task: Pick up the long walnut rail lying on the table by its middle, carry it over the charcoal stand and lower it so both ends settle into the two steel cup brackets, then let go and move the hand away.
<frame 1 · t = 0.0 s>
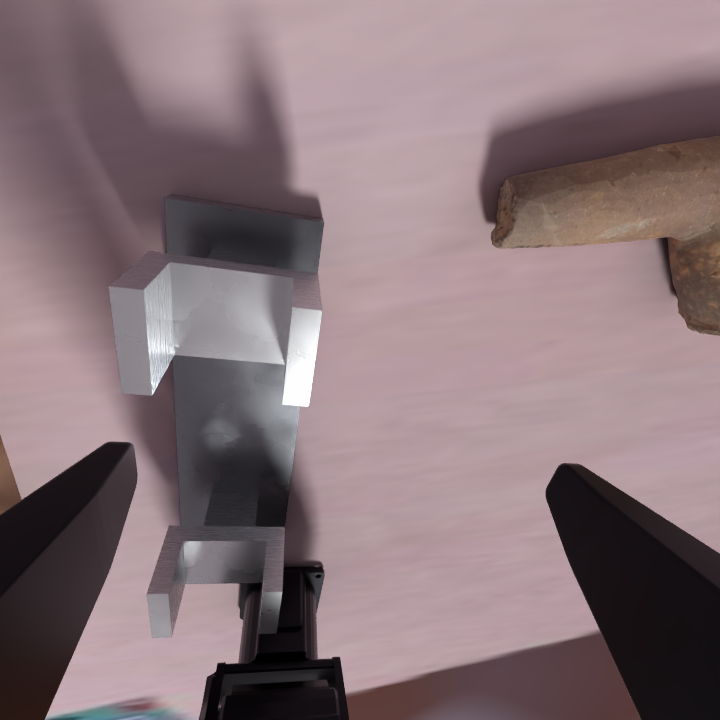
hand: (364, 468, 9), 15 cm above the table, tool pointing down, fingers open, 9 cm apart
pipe: (618, 235, 23), on the table
bracket stand: (240, 404, 25), on the table
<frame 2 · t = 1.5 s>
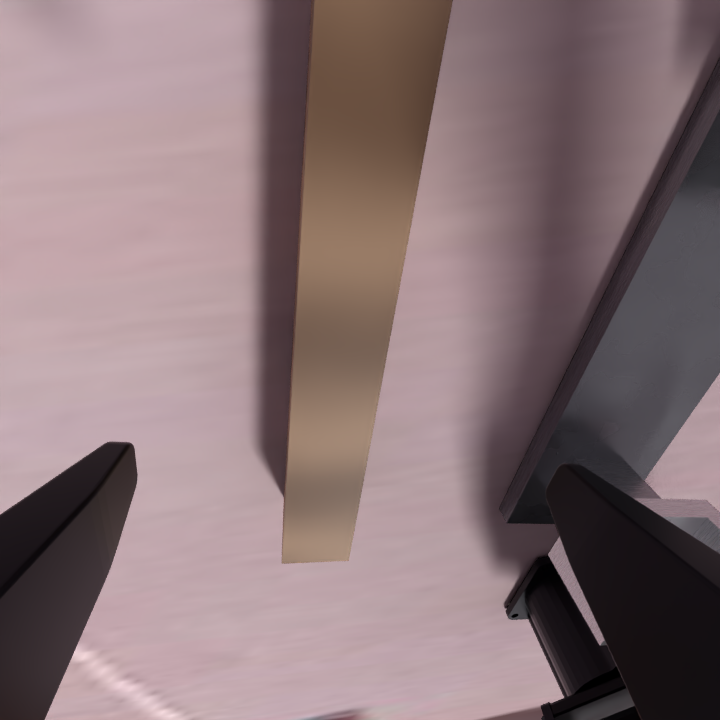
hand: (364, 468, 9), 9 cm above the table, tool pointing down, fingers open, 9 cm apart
bracket stand: (650, 340, 19), on the table
rail: (332, 299, 16), on the table
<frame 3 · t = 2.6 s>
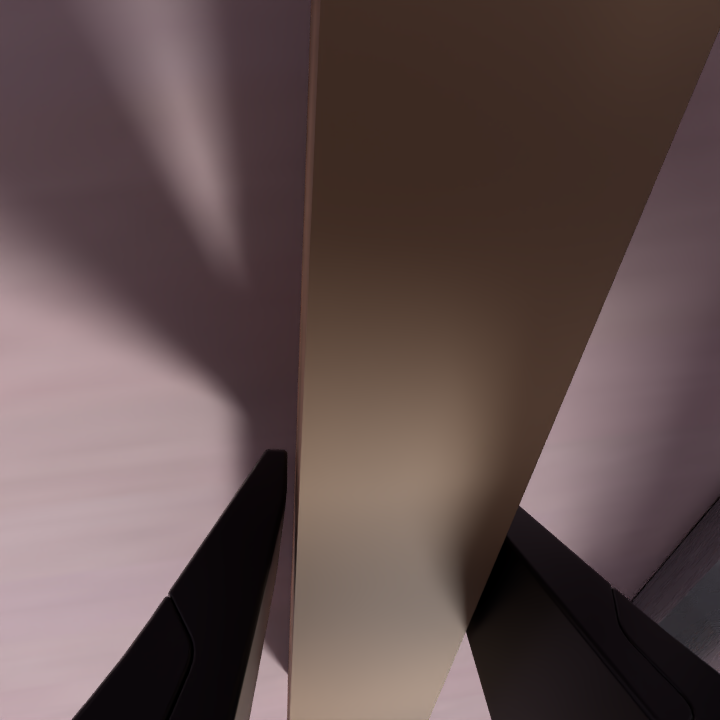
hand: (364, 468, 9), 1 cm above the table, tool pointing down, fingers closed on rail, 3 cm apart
rail: (360, 427, 10), on the table, touching gripper
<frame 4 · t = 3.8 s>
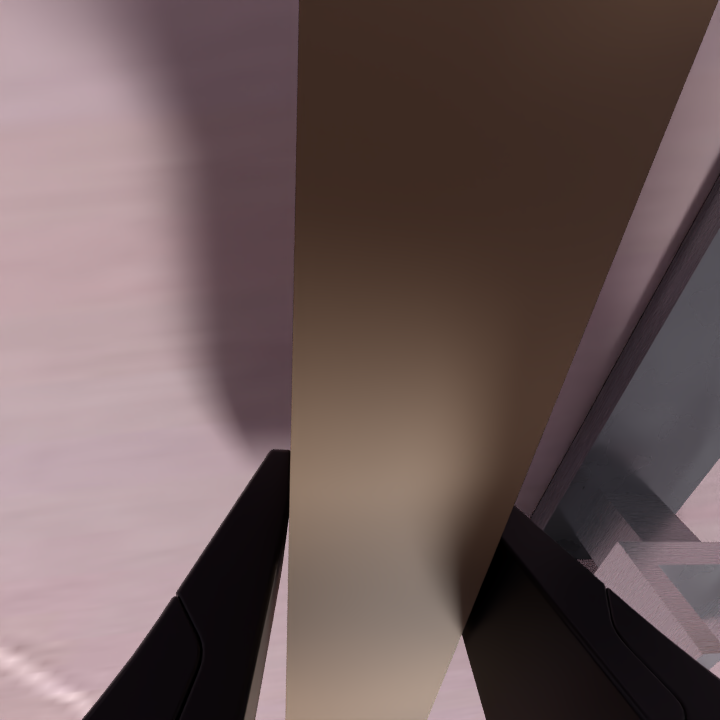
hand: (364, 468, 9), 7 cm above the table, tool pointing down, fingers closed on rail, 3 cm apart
bracket stand: (688, 367, 17), on the table
rail: (356, 428, 10), point 6 cm above the table, touching gripper
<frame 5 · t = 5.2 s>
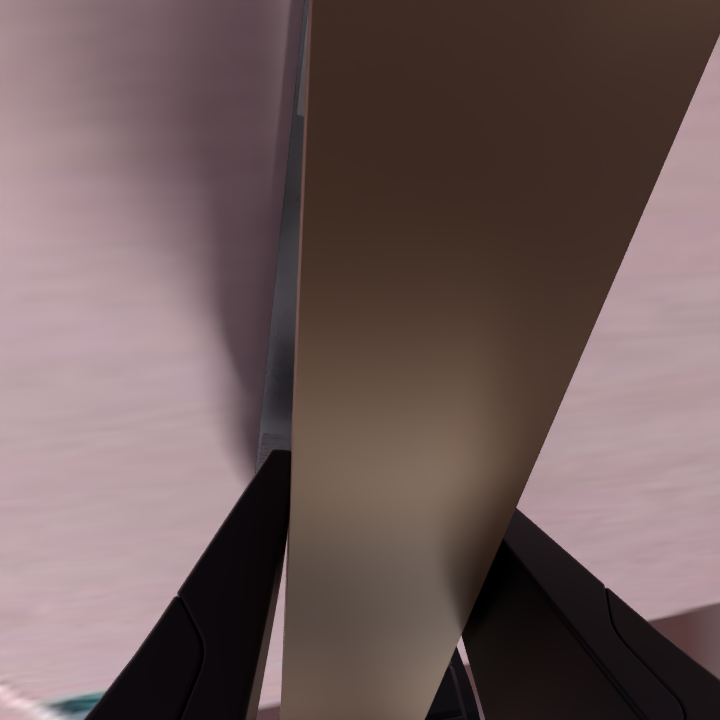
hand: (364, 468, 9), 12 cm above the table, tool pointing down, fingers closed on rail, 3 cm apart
bracket stand: (353, 280, 19), on the table
rail: (356, 428, 10), point 11 cm above the table, touching gripper
when the fingers open (7 cm above the table, at t = 6.7 s): rail stays where it is, resting on bracket stand.
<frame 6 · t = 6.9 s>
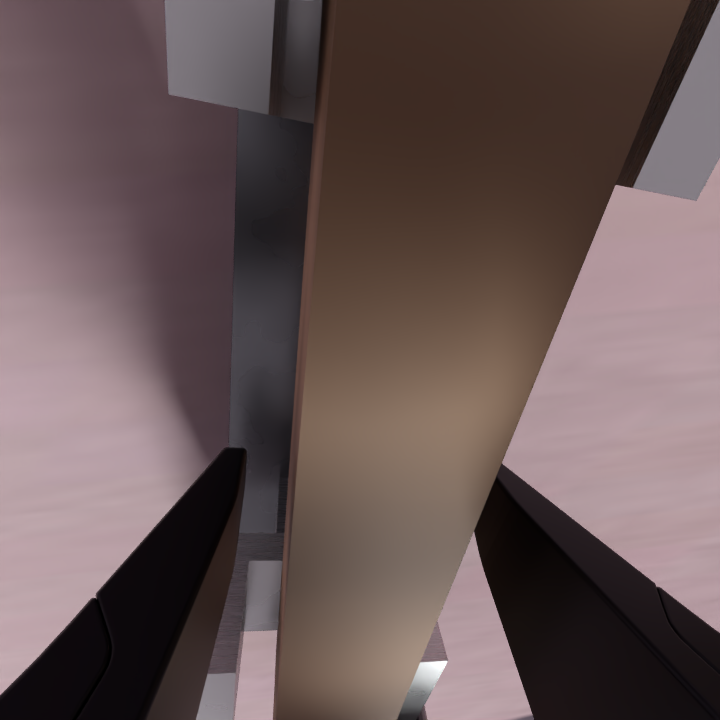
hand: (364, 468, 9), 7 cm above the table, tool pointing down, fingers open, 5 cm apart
bracket stand: (338, 324, 15), on the table
rail: (353, 411, 10), point 5 cm above the table, touching bracket stand
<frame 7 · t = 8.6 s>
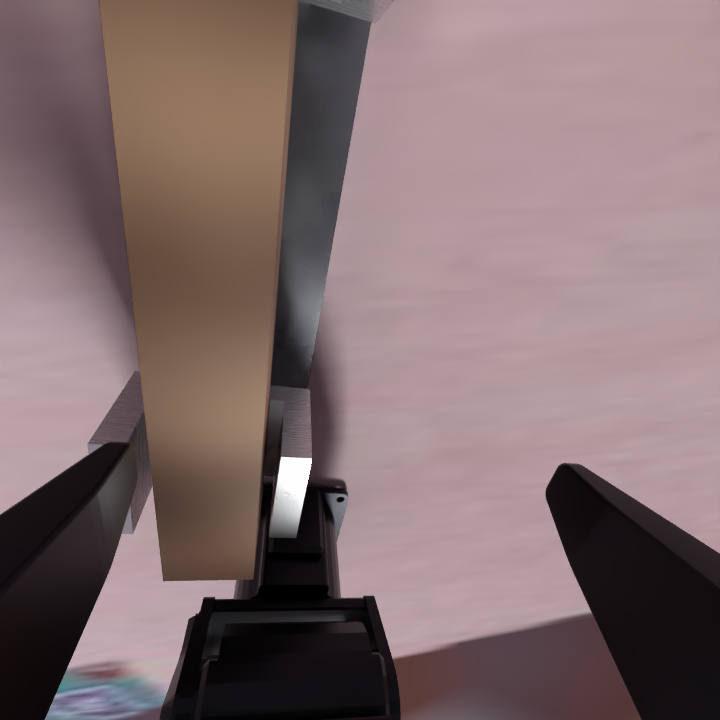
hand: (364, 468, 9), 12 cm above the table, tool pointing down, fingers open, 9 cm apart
bracket stand: (248, 203, 17), on the table
rail: (230, 235, 12), point 5 cm above the table, touching bracket stand
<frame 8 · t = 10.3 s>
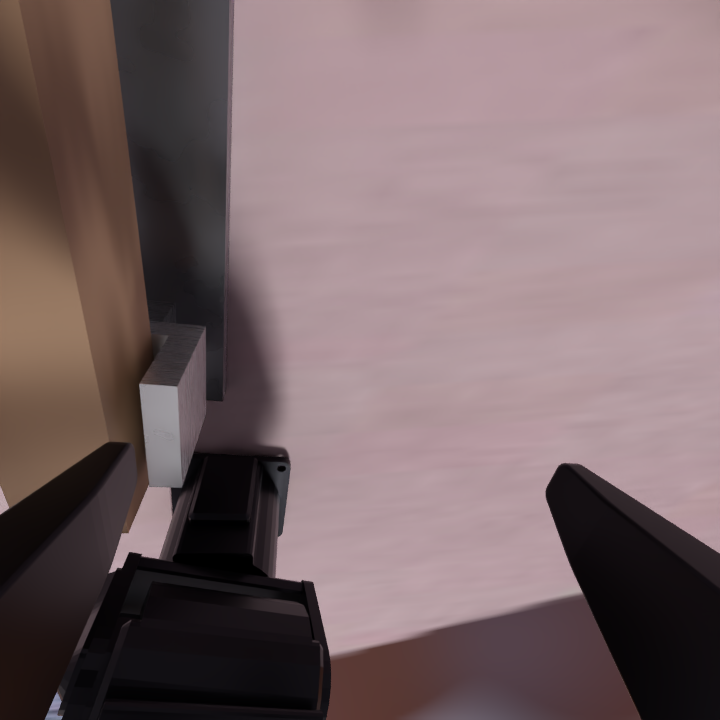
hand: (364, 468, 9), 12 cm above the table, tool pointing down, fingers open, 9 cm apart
bracket stand: (131, 122, 15), on the table
rail: (64, 123, 11), point 5 cm above the table, touching bracket stand
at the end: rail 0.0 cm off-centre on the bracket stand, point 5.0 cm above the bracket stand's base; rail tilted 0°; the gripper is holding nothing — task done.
